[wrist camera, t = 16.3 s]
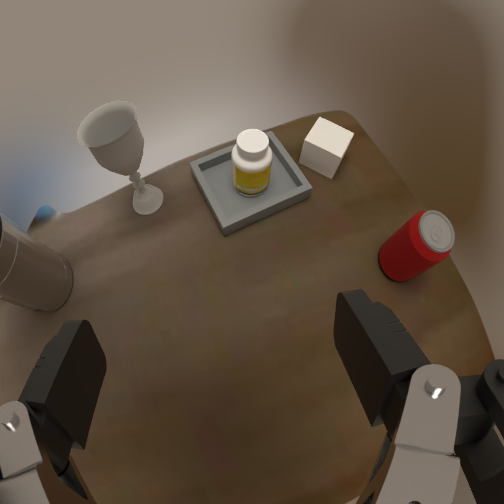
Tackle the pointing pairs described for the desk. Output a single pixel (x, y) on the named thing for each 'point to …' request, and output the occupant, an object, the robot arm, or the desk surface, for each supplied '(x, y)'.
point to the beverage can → (417, 246)
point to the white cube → (325, 147)
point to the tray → (243, 207)
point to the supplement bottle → (251, 163)
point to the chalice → (120, 148)
